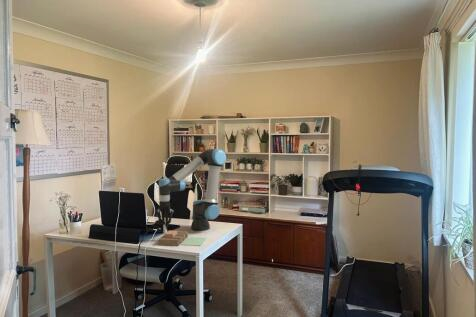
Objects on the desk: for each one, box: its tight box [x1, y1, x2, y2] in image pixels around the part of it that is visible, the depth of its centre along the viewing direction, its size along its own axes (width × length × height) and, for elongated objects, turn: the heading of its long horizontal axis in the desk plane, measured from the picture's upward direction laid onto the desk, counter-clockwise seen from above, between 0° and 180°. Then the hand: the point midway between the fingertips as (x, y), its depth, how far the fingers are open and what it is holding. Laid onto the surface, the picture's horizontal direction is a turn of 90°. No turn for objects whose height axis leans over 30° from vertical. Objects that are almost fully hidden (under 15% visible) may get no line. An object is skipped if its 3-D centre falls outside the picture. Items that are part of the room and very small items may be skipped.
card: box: [164, 230, 178, 237], centre depth 247 cm, size 9×6×2 cm, turn 171°
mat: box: [180, 236, 208, 247], centre depth 244 cm, size 18×14×1 cm
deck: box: [158, 230, 189, 247], centre depth 246 cm, size 22×14×4 cm, turn 171°
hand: (165, 233), depth 247 cm, fingers closed
